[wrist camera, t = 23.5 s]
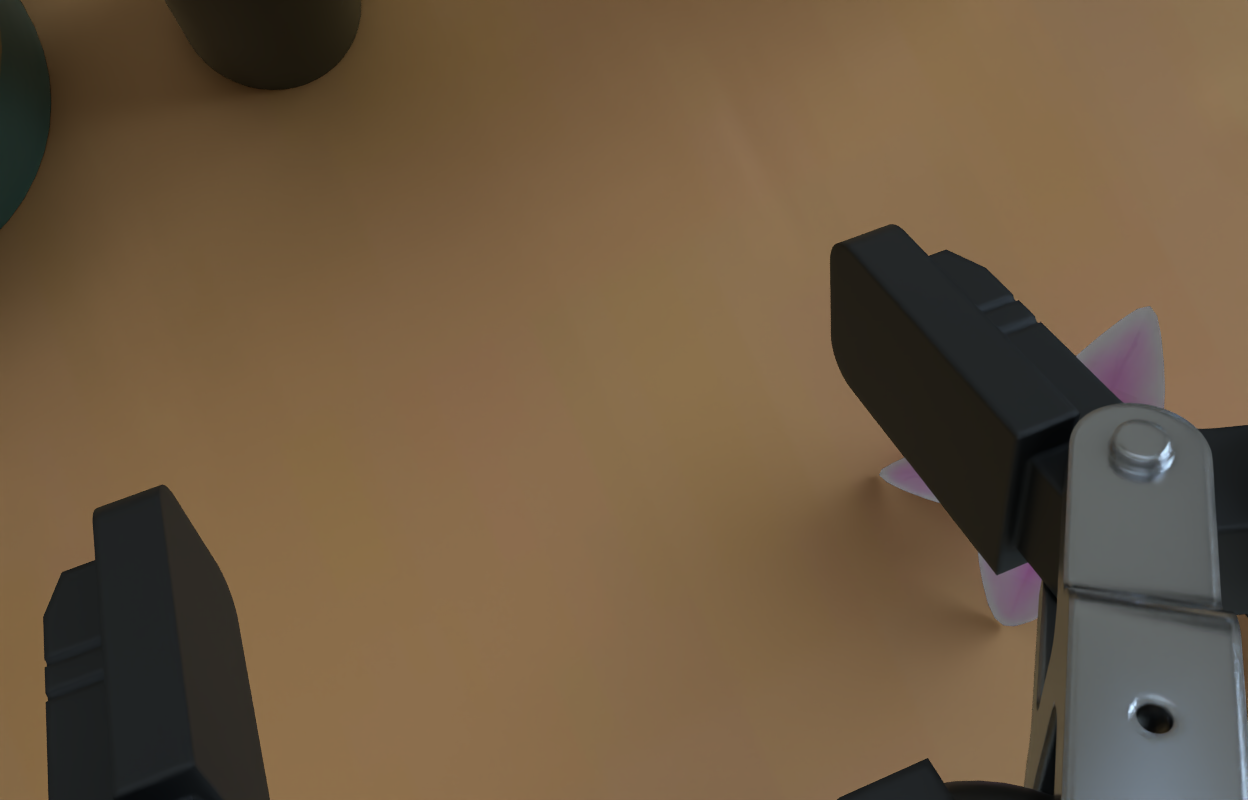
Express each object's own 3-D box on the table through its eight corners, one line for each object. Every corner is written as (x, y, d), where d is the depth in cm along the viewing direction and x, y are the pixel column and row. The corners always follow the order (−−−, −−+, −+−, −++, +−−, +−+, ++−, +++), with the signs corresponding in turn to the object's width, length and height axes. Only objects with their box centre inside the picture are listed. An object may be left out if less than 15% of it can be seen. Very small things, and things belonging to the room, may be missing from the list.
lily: (828, 285, 41) (842, 389, 32) (1186, 183, 38) (1308, 266, 29) (913, 577, 45) (946, 741, 36) (1243, 503, 42) (1365, 661, 33)
